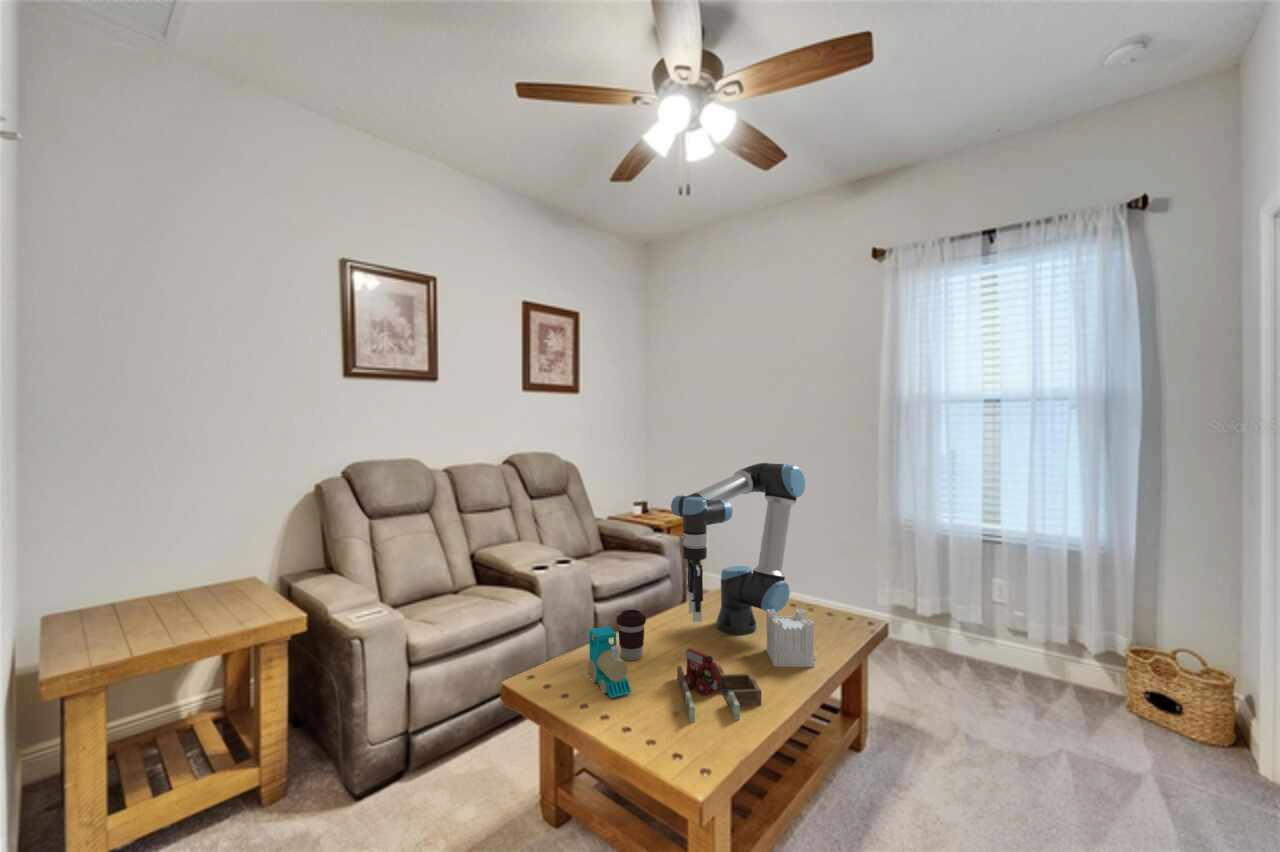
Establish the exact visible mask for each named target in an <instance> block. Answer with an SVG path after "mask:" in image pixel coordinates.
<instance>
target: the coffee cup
mask: <svg viewBox="0 0 1280 852" xmlns="http://www.w3.org/2000/svg"><path fill="white" fill-rule="evenodd" d="M646 622H647V617H646V615H644V614H642V612H641V611H640V610H638V609H626V610H623V611H622V612H621V613H620V614H618V615H617V616H616V624H617V625H618V628H617V630H618V642H619V643H618V644H619V650H620V658H621V659H622V660H624V659H625V660H624V661H628V660H630V661H633V660H634V661H638V660H640V659H641V658H642V657H643V647H644V641H645V640H644V639H645V627H644V626H645V624H646ZM630 661H629V662H630ZM634 661H633V662H634Z"/></svg>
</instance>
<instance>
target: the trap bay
mask: <svg viewBox="0 0 1280 852" xmlns="http://www.w3.org/2000/svg"><path fill="white" fill-rule="evenodd" d="M721 676H722V678H723V677H725V676H726V678H725V679H726V684H725V683H722V682H721V683H722V684H724V685H726V687H725V688H726V689H725V688H724V687H723V688H724V689H723V688H722V689H721V691H722V694H723V696H724V698H725V700H726V702H727V703H728V701H729V698H728V691H729V692H734V694H735V696H736V698H737V700H738V702H739V704H740V707H747V706H750V707H751V706H762V690H761V688H760V687H759V684H758V683H757V681H756V679H755V677H754V676H753V674H752V673H736V674H735V673H734V674H733V673H732V674H725V675H721ZM722 678H721V679H722ZM725 679H724V680H725ZM721 681H722V680H721ZM724 685H723V686H724Z"/></svg>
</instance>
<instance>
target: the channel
mask: <svg viewBox="0 0 1280 852" xmlns="http://www.w3.org/2000/svg"><path fill="white" fill-rule="evenodd" d="M715 664H716V665H717V669H718V672H719V675H720V678H722V676H721V675H726V673H725V672H724V669H723V668H722V665H721V664H717V663H715ZM676 671H677V675H676V676H677V682H678V685H679V689H680V692H681V695H682V699H683V702H684V706H685V709H686V712H687V715H688V718H689V719H688V720H689V721H690V723H695V722H696V707H695V703H694V700H693V697H692V694H691V691H690V689H689V688H688V685H687V682H686V679H685V673H684V671H683V667H682V665H677V670H676ZM725 678H726V676H725V677H723V678H722V679H721V680H722V681H721V682H722V683H725V684H726V679H725ZM724 679H725V680H724ZM721 682H720V689H721V690H722V688H723V687H724V688H725V687H726V685H724V684H722V683H721ZM723 685H724V686H723ZM724 688H723V689H724ZM725 689H726V688H725ZM728 698H729V701H728V702H727V704H728V706H729V709H730V711H731V713H732V716H733V718H734V720H735V721H737V720H738V721H740V720H741V712H740V711H741V708H740V707H741V706H740V704H739V702H738V700H737V698H736V696H735V694H734V692H729V691H728Z"/></svg>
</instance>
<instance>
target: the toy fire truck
mask: <svg viewBox="0 0 1280 852" xmlns="http://www.w3.org/2000/svg"><path fill="white" fill-rule="evenodd" d="M685 658H686V674H684V676H685V679H686V682H687V685H688V688H689V690H690V689H691V690H692V689H694V688H695V687H696V690H697V692H698V693H699V694H700V695H701V696H705V695H707V694H708V693H709V692H710V689H712V690H714V691H718V690H720V689H721V687H720V682H721V678H720V675H719V672H718V669H717V665H716V664H717V663H715V662H714V658H713V656H712V655H707V654H705V653H704V652H701V651H698V650H696V649H693V648H692V647H691V648H690V647H689V648H687V649H686V650H685Z"/></svg>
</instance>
